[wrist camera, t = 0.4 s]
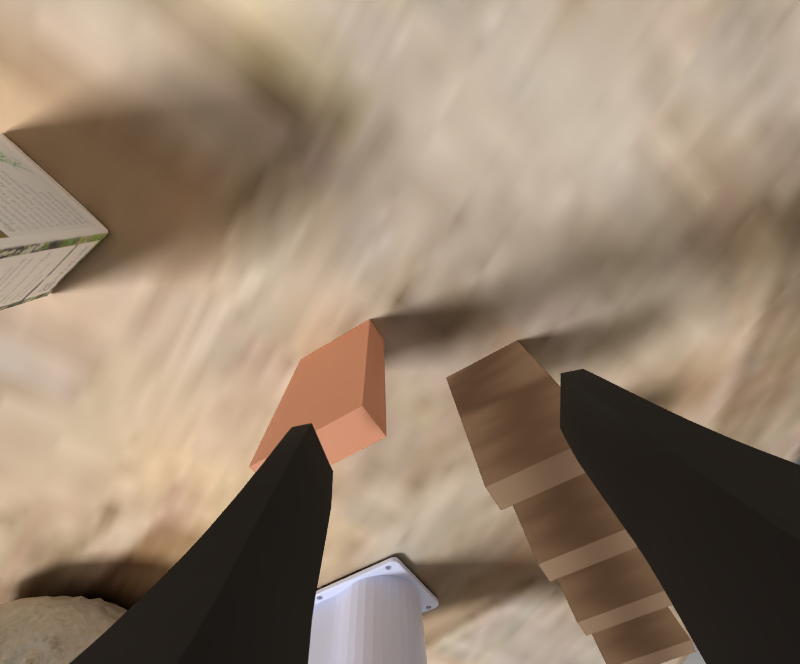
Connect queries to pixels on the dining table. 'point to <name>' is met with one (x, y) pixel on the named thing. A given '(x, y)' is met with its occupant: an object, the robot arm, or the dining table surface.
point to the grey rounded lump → (52, 628)
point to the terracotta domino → (335, 396)
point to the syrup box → (38, 229)
